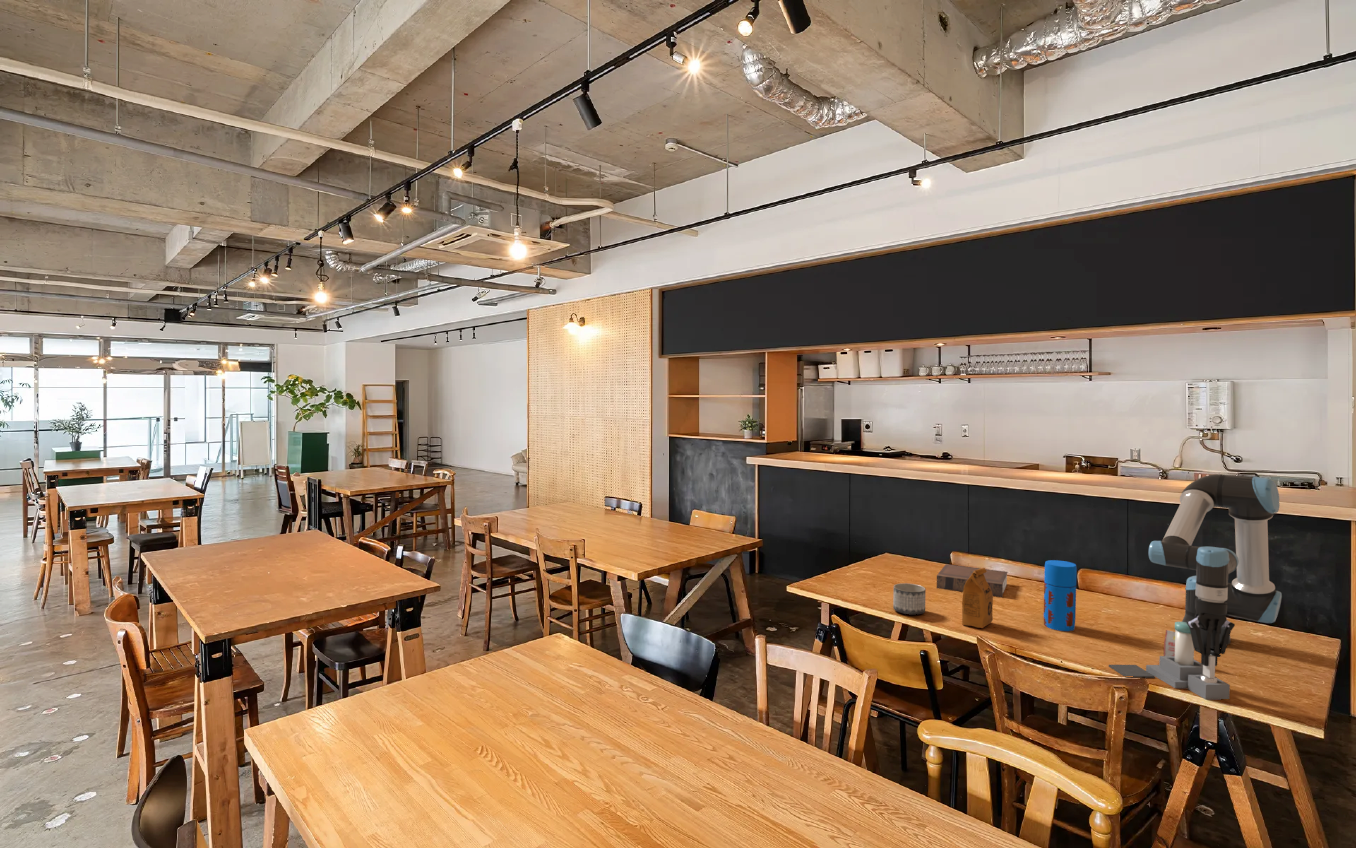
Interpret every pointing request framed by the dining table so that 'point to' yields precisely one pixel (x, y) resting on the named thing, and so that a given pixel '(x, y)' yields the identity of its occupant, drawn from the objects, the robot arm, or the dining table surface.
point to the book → (958, 575)
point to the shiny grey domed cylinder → (1208, 679)
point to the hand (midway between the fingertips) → (1208, 676)
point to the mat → (1131, 671)
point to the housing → (1188, 678)
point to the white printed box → (1169, 643)
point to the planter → (909, 598)
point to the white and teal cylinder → (1183, 645)
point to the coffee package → (977, 601)
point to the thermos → (1060, 595)
